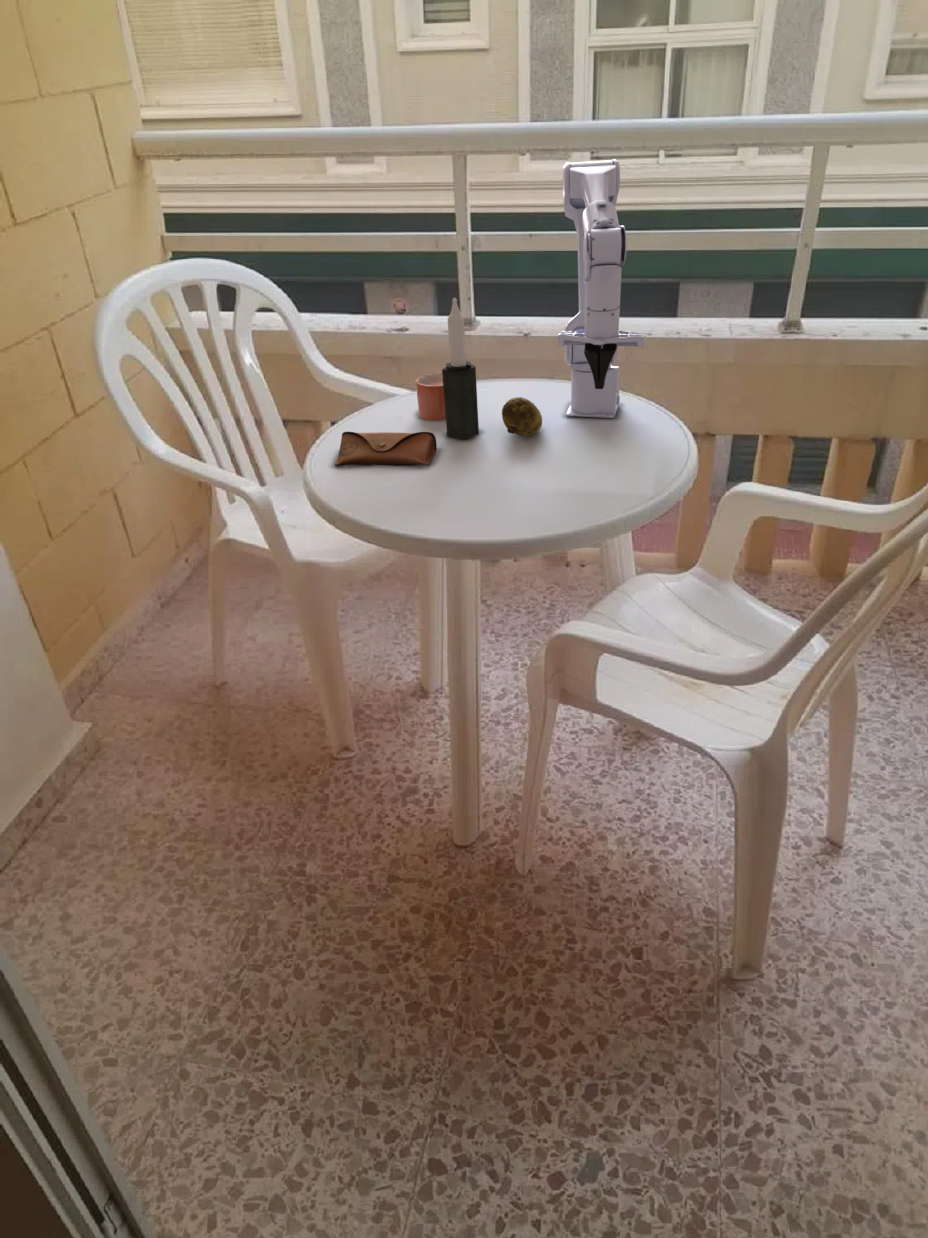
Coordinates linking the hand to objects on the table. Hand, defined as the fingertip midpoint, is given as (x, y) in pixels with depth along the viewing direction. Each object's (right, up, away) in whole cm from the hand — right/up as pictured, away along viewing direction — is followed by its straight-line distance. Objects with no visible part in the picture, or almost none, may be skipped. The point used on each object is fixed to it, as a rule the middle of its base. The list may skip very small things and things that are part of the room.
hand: (599, 387), depth 145 cm
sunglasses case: (-38, -11, +6) cm, 40 cm away
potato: (-12, -6, +11) cm, 18 cm away
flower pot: (-29, +1, +23) cm, 37 cm away
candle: (-24, -5, +13) cm, 28 cm away
